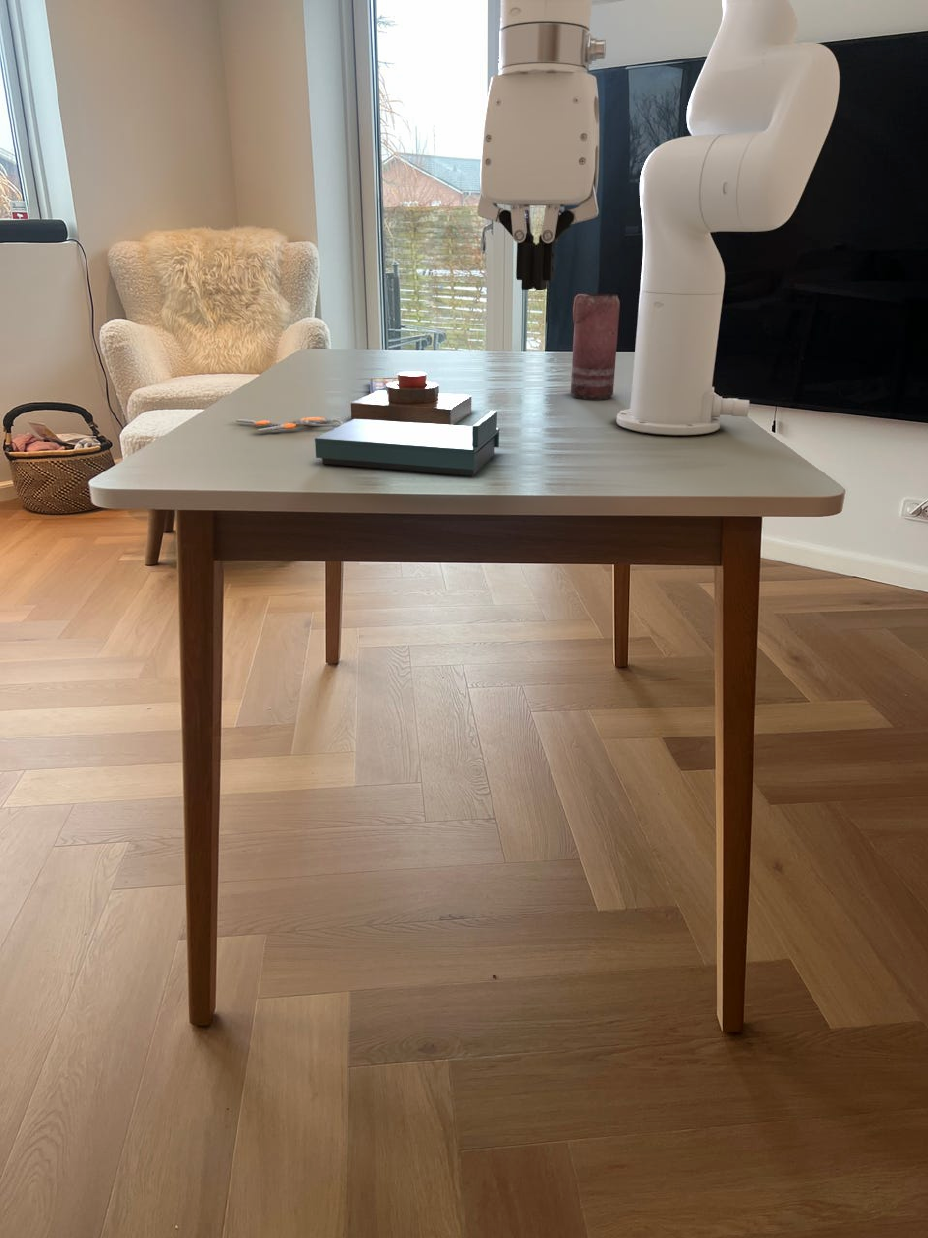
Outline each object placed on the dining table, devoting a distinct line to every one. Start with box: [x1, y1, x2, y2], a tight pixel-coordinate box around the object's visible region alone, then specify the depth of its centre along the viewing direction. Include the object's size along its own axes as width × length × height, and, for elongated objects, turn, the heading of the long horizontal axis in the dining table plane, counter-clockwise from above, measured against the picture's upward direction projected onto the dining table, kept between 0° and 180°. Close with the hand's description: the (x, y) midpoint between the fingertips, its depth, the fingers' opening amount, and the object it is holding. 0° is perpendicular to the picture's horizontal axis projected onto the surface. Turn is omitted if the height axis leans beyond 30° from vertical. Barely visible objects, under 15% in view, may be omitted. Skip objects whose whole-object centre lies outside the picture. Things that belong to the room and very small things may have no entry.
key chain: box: [235, 416, 344, 433], centre depth 105 cm, size 13×7×1 cm, turn 102°
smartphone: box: [369, 377, 398, 394], centre depth 128 cm, size 1×7×15 cm
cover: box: [314, 410, 500, 470], centre depth 90 cm, size 17×10×4 cm, turn 75°
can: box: [570, 293, 621, 401], centre depth 124 cm, size 6×6×14 cm
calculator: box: [321, 437, 495, 477], centre depth 91 cm, size 16×9×2 cm, turn 75°
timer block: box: [350, 380, 472, 425], centre depth 111 cm, size 13×10×4 cm
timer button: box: [397, 371, 427, 388], centre depth 110 cm, size 4×4×2 cm
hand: (534, 288), depth 81 cm, fingers closed
